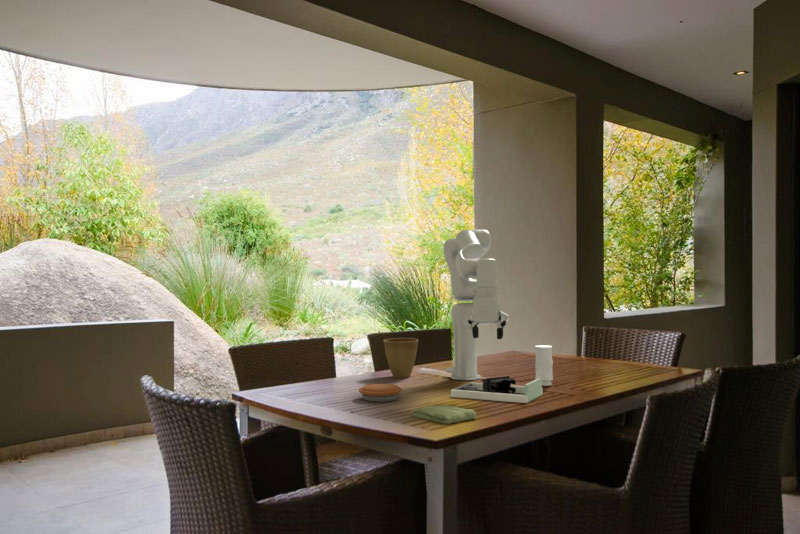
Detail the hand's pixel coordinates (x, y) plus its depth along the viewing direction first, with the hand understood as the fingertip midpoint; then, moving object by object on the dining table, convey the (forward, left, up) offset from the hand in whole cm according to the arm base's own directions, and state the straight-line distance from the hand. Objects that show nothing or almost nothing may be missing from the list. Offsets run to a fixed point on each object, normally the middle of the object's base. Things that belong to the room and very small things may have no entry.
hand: (487, 338), depth 248 cm
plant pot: (-48, +21, -20) cm, 56 cm away
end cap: (+6, -4, -20) cm, 22 cm away
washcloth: (+3, -45, -21) cm, 49 cm away
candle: (+13, +27, -20) cm, 36 cm away
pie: (-30, -27, -21) cm, 45 cm away
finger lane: (+5, -4, -20) cm, 21 cm away
